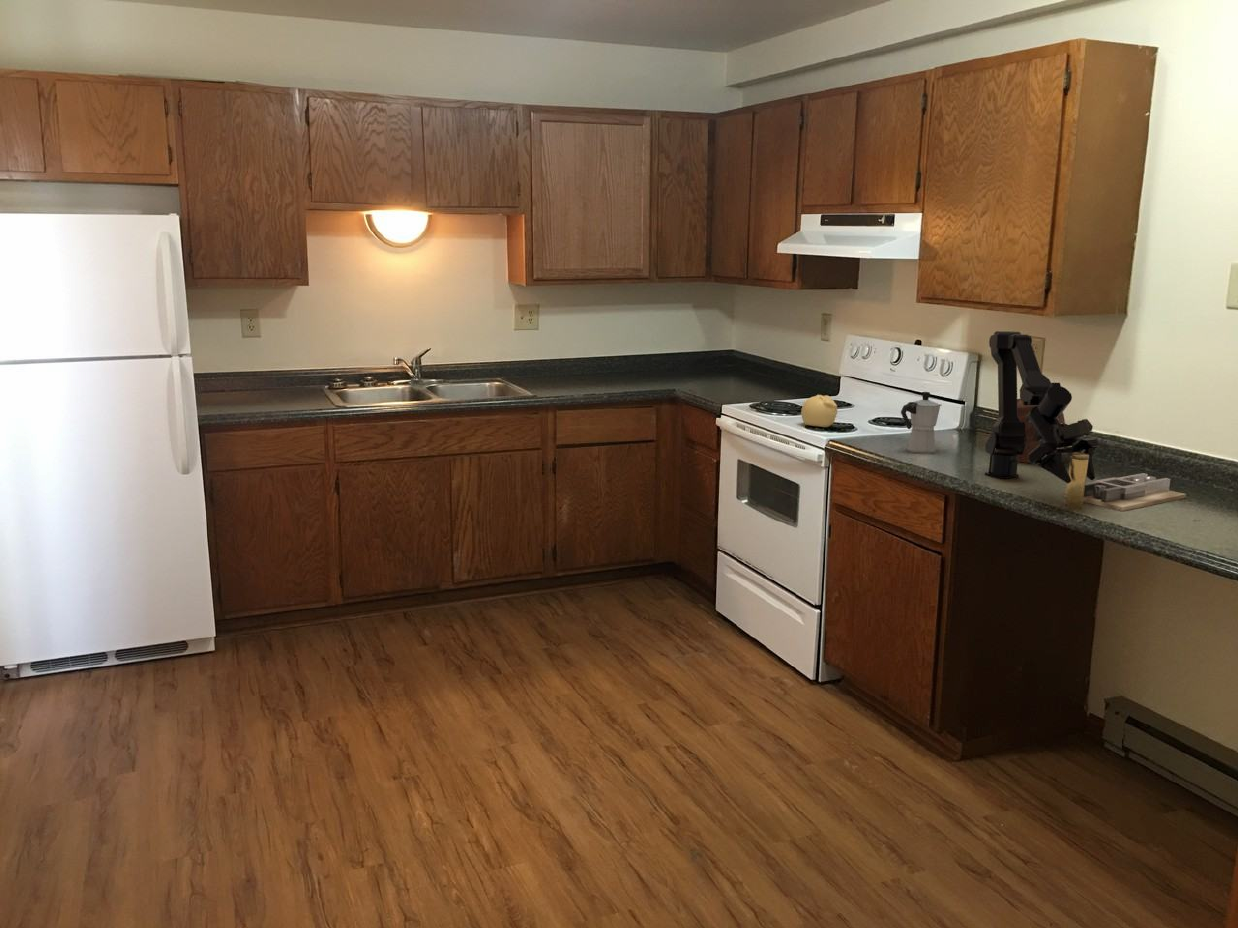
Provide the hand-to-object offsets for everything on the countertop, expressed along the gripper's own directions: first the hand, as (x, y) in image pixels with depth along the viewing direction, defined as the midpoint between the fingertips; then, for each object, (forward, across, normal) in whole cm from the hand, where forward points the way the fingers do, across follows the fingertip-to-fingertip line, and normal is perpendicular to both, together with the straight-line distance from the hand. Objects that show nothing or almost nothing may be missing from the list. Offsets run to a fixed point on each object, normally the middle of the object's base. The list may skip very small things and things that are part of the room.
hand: (1081, 480), depth 239 cm
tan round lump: (-74, +8, +84) cm, 112 cm away
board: (+3, +20, +7) cm, 22 cm away
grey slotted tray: (+2, +20, +6) cm, 21 cm away
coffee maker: (-42, +11, +52) cm, 68 cm away
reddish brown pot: (-28, +34, +38) cm, 58 cm away
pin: (+4, 0, +6) cm, 7 cm away
